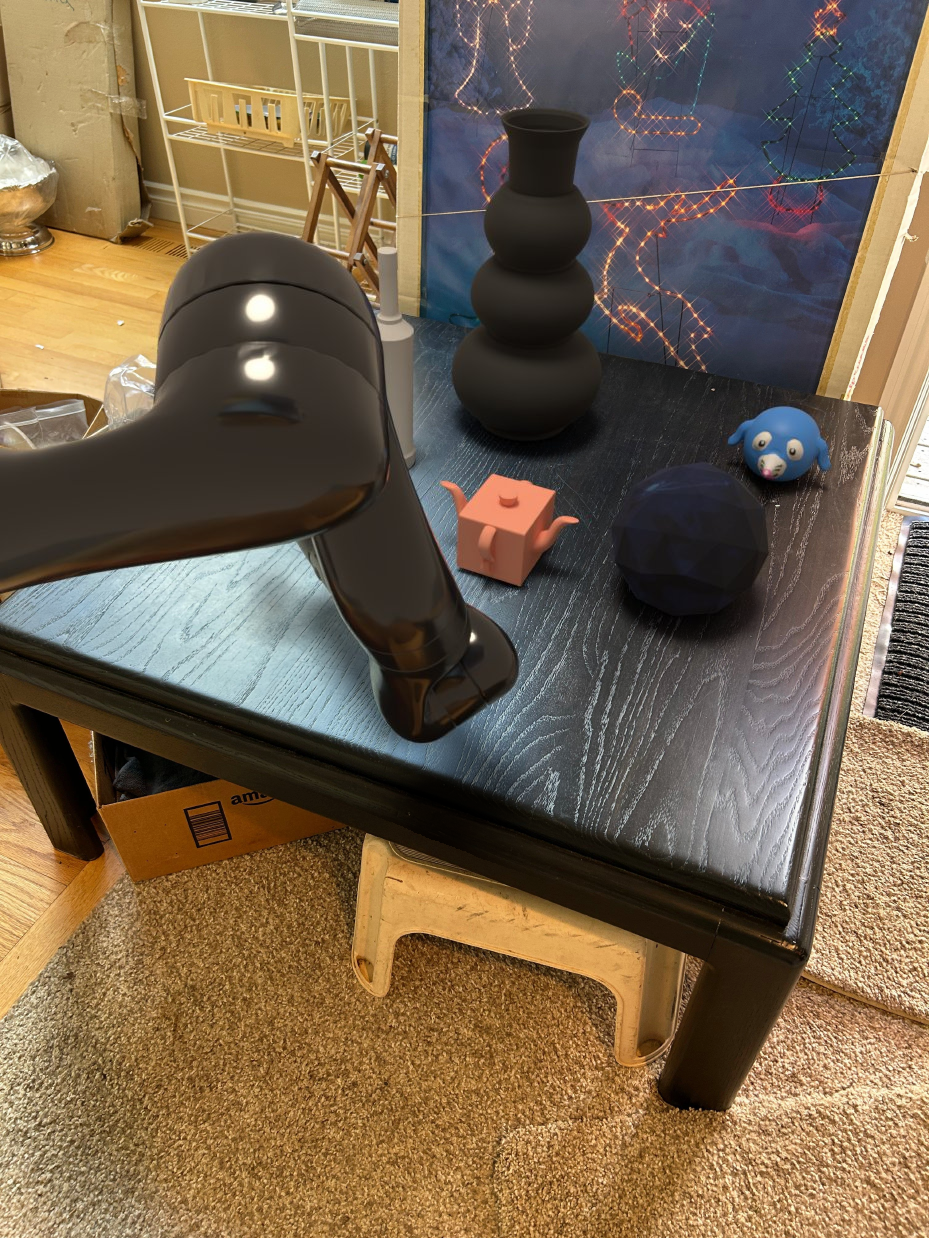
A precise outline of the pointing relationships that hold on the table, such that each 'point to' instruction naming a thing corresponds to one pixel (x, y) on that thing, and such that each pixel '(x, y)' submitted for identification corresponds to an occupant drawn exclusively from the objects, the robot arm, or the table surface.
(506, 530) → the teapot
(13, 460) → the robot arm
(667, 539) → the decorative orb
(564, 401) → the vase
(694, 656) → the table surface
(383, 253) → the bottle
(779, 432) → the blue mole toy
